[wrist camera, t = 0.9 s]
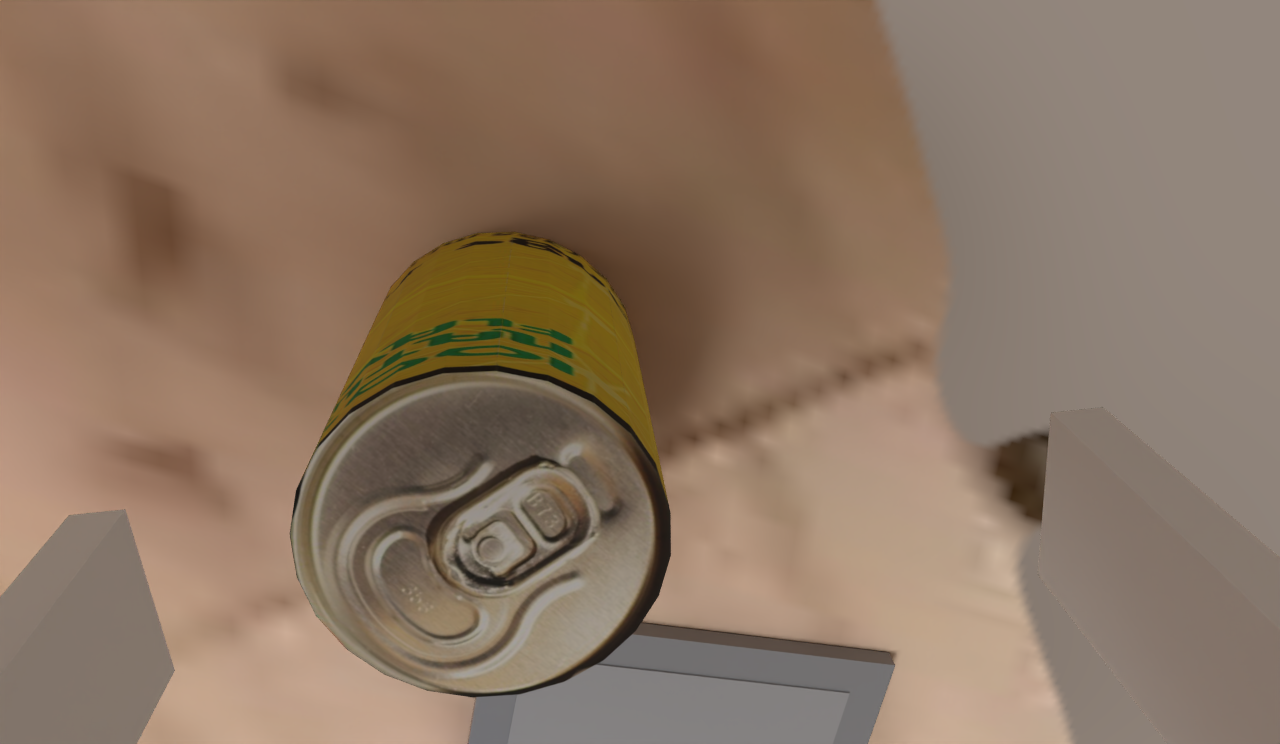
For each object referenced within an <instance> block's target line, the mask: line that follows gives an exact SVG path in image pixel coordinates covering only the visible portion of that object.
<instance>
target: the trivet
mask: <svg viewBox="0 0 1280 744" xmlns="http://www.w3.org/2000/svg"><path fill="white" fill-rule="evenodd" d="M894 667H895V664H894V662H893V660H892V658H891V655H890V653H888V652H880V651H871V650H863V649H855V648H846V647H838V646H830V645H821V644H813V643H805V642H796V641H788V640H780V639H771V638H763V637H754V636H746V635H738V634H729V633H721V632H713V631H704V630H696V629H688V628H679V627H671V626H663V625H654V624H646V623H641V624H640V625H639V627H638V628H637V630H636V631H635V632H634V633H633V634H632V635H631V636H630V637H629V638H628V639H627V640H625V641H624V642H623V643H622V644H621V645H620V646H619V647H618V648H617V649H616V650H614V651H613V652H612V653H611V654H610V655H609V656H608V657H607V658H606V659H605V660H603V661H602V662H600V663H598V664H596V665H594V666H592V667H591V668H589V669H587V670H585V671H583V672H581V673H580V674H578V675H576V676H574V677H572V678H570V679H569V680H567V681H565V682H562V683H558V684H555V685H551V686H548V687H544V688H541V689H537V690H534V691H530V692H527V693H523V694H518V695H503V696H487V697H475V703H474V709H473V715H472V720H471V726H470V732H469V738H468V743H467V744H868V742H869V739H870V736H871V733H872V730H873V727H874V724H875V722H876V719H877V716H878V713H879V710H880V707H881V704H882V702H883V699H884V696H885V693H886V690H887V687H888V684H889V682H890V679H891V676H892V673H893V670H894Z"/></svg>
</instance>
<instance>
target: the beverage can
mask: <svg viewBox="0 0 1280 744" xmlns="http://www.w3.org/2000/svg"><path fill="white" fill-rule="evenodd" d="M290 539H291V545H292V551H293V557H294V563H295V569H296V575H297V578H298V580H299V582H300V584H301V586H302V588H303V590H304V592H305V594H306V596H307V598H308V600H309V602H310V604H311V606H312V608H313V610H314V612H315V614H316V616H317V617H318V618H319V619H320V621H321V622H322V623H323V624H324V625H325V626H326V627H327V628H328V629H329V631H330V632H331V633H332V634H333V635H334V636H335V637H336V638H337V639H338V641H339V642H340V643H341V644H342V645H343V646H344V647H345V648H346V649H347V650H348V651H350V652H351V653H353V654H354V655H356V656H357V657H359V658H360V659H362V660H363V661H365V662H366V663H368V664H369V665H371V666H372V667H374V668H375V669H377V670H378V671H380V672H381V673H383V674H385V675H387V676H390V677H393V678H395V679H398V680H401V681H403V682H406V683H409V684H411V685H414V686H417V687H419V688H422V689H424V690H427V691H433V692H440V693H447V694H454V695H461V696H468V697H487V696H503V695H518V694H523V693H527V692H530V691H534V690H537V689H541V688H544V687H548V686H551V685H555V684H558V683H562V682H565V681H567V680H569V679H570V678H572V677H574V676H576V675H578V674H580V673H581V672H583V671H585V670H587V669H589V668H591V667H592V666H594V665H596V664H598V663H600V662H602V661H603V660H605V659H606V658H607V657H608V656H609V655H610V654H611V653H612V652H613V651H614V650H616V649H617V648H618V647H619V646H620V645H621V644H622V643H623V642H624V641H625V640H627V639H628V638H629V637H630V636H631V635H632V634H633V633H634V632H635V631H636V630H637V628H638V627H639V625H640V624H641V622H642V621H643V619H644V618H645V616H646V614H647V613H648V611H649V610H650V608H651V607H652V605H653V604H654V602H655V601H656V599H657V597H658V596H659V593H660V589H661V586H662V583H663V579H664V576H665V573H666V569H667V566H668V563H669V560H670V556H671V525H670V509H669V504H668V499H667V495H666V490H665V485H664V480H663V475H662V471H661V466H660V461H659V456H658V451H657V447H656V442H655V437H654V432H653V428H652V423H651V418H650V413H649V408H648V404H647V399H646V394H645V389H644V384H643V380H642V375H641V370H640V365H639V360H638V356H637V351H636V346H635V341H634V337H633V334H632V330H631V327H630V324H629V321H628V317H627V314H626V311H625V308H624V306H623V304H622V302H621V301H620V299H619V298H618V296H617V295H616V293H615V292H614V290H613V289H612V287H611V285H610V284H609V282H608V281H607V279H606V278H605V277H604V276H603V275H601V274H600V273H599V272H598V271H597V270H596V269H595V268H594V267H593V266H591V265H590V264H589V263H588V262H587V261H586V260H585V259H584V258H582V257H581V256H580V255H578V254H576V253H574V252H572V251H570V250H568V249H566V248H564V247H562V246H560V245H558V244H557V243H555V242H553V241H551V240H548V239H544V238H539V237H535V236H530V235H526V234H521V233H517V232H496V233H477V234H473V235H470V236H467V237H463V238H460V239H457V240H453V241H450V242H447V243H443V244H442V245H440V246H439V247H437V248H435V249H434V250H432V251H431V252H429V253H427V254H426V255H424V256H423V257H421V258H419V259H418V260H416V261H414V262H413V263H412V264H411V266H410V267H409V268H408V269H407V270H406V271H405V272H404V273H403V274H402V275H401V277H400V278H399V279H398V280H397V281H396V282H395V283H394V284H393V285H392V286H391V288H390V290H389V292H388V294H387V296H386V298H385V300H384V302H383V304H382V306H381V308H380V310H379V313H378V315H377V317H376V319H375V321H374V323H373V325H372V327H371V330H370V332H369V334H368V336H367V338H366V340H365V343H364V345H363V347H362V349H361V351H360V353H359V356H358V358H357V360H356V362H355V364H354V366H353V369H352V371H351V373H350V375H349V377H348V379H347V382H346V384H345V386H344V388H343V390H342V392H341V395H340V397H339V399H338V401H337V403H336V405H335V407H334V410H333V412H332V414H331V416H330V418H329V420H328V423H327V425H326V427H325V429H324V431H323V433H322V436H321V438H320V440H319V442H318V444H317V446H316V449H315V451H314V453H313V455H312V457H311V459H310V462H309V464H308V466H307V468H306V470H305V472H304V475H303V477H302V479H301V481H300V483H299V485H298V488H297V490H296V495H295V501H294V508H293V515H292V522H291V529H290Z"/></svg>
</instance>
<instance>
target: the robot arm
mask: <svg viewBox="0 0 1280 744" xmlns="http://www.w3.org/2000/svg"><path fill="white" fill-rule="evenodd" d="M1038 576H1039V577H1040V578H1041V579H1042V581H1043V582H1044V584H1045V585H1046V586H1047V587H1048V589H1049V590H1050V591H1051V593H1052V594H1053V595H1054V597H1055V598H1056V599H1057V601H1058V602H1059V603H1060V604H1061V606H1062V607H1063V608H1064V610H1065V611H1066V612H1067V614H1068V615H1069V616H1070V618H1071V619H1072V620H1073V621H1074V623H1075V624H1076V625H1077V627H1078V628H1079V629H1080V631H1081V632H1082V633H1083V634H1084V636H1085V637H1086V638H1087V640H1088V641H1089V642H1090V643H1091V645H1092V646H1093V648H1094V649H1095V650H1096V651H1097V653H1098V654H1099V655H1100V657H1101V658H1102V659H1103V661H1104V662H1105V663H1106V665H1107V666H1108V667H1109V668H1110V670H1111V671H1112V672H1113V674H1114V675H1115V676H1116V677H1117V679H1118V680H1119V681H1120V683H1121V684H1122V685H1123V687H1124V688H1125V689H1126V691H1127V692H1128V693H1129V695H1130V696H1131V697H1132V698H1133V700H1134V701H1135V702H1136V704H1137V705H1138V706H1139V708H1140V709H1141V710H1142V712H1143V713H1144V714H1145V715H1146V717H1147V718H1148V719H1149V721H1150V722H1151V723H1152V724H1153V726H1154V727H1155V728H1156V730H1157V731H1158V733H1159V734H1160V735H1161V736H1162V738H1163V739H1164V740H1165V742H1166V743H1167V744H1280V557H1279V556H1278V555H1277V554H1275V553H1274V552H1273V551H1272V550H1271V549H1269V548H1268V547H1267V546H1266V545H1265V544H1264V543H1263V542H1261V541H1260V540H1259V539H1258V538H1257V537H1256V536H1254V535H1253V534H1252V533H1251V532H1250V531H1248V530H1247V529H1246V528H1245V527H1244V526H1242V525H1241V524H1240V523H1239V522H1238V521H1236V520H1235V519H1234V518H1233V517H1232V516H1230V515H1229V514H1228V513H1227V512H1226V511H1225V510H1223V509H1222V508H1221V507H1220V506H1219V505H1218V504H1217V503H1215V502H1214V501H1213V500H1212V499H1211V498H1210V497H1208V496H1207V495H1206V494H1205V493H1203V492H1202V491H1201V490H1200V489H1199V488H1198V487H1197V486H1195V485H1194V484H1193V483H1192V482H1191V481H1189V480H1188V479H1187V478H1186V477H1185V476H1183V475H1182V474H1181V473H1180V472H1179V471H1178V470H1176V469H1175V468H1174V467H1173V466H1172V465H1171V464H1169V463H1168V462H1167V461H1166V460H1165V459H1163V458H1162V457H1161V456H1160V455H1159V454H1157V453H1156V452H1155V451H1154V450H1153V449H1152V448H1150V447H1149V446H1148V445H1147V444H1146V443H1144V442H1143V441H1142V440H1141V439H1140V438H1139V437H1138V436H1136V435H1135V434H1134V433H1133V432H1132V431H1130V430H1129V429H1128V428H1127V427H1126V426H1125V425H1123V424H1122V423H1121V422H1120V421H1119V420H1117V419H1116V418H1115V417H1114V416H1113V415H1111V414H1110V413H1109V412H1108V411H1107V410H1105V409H1104V408H1103V407H1100V408H1091V409H1080V410H1071V411H1061V412H1052V413H1051V419H1050V430H1049V442H1048V454H1047V466H1046V479H1045V491H1044V503H1043V515H1042V527H1041V539H1040V552H1039V564H1038ZM174 671H175V670H174V667H173V663H172V660H171V657H170V654H169V650H168V647H167V644H166V641H165V637H164V634H163V631H162V628H161V624H160V621H159V618H158V615H157V611H156V608H155V605H154V602H153V598H152V595H151V592H150V589H149V585H148V582H147V579H146V575H145V572H144V569H143V566H142V562H141V559H140V556H139V553H138V549H137V546H136V543H135V540H134V536H133V533H132V530H131V527H130V523H129V520H128V517H127V514H126V510H125V509H124V510H115V511H105V512H96V513H86V514H77V515H69V516H68V517H67V518H66V519H65V521H64V522H63V523H62V524H61V525H60V527H59V528H58V529H57V530H56V531H55V533H54V534H53V535H52V536H51V537H50V538H49V540H48V541H47V542H46V543H45V544H44V546H43V547H42V548H41V549H40V550H39V552H38V553H37V554H36V555H35V556H34V557H33V559H32V560H31V561H30V562H29V563H28V565H27V566H26V567H25V568H24V569H23V571H22V572H21V573H20V574H19V575H18V577H17V578H16V579H15V580H14V581H13V582H12V584H11V585H10V586H9V587H8V588H7V590H6V591H5V592H4V593H3V594H2V596H1V597H0V744H137V742H138V740H139V738H140V736H141V734H142V732H143V731H144V729H145V727H146V725H147V723H148V721H149V719H150V717H151V715H152V713H153V711H154V709H155V707H156V705H157V703H158V702H159V700H160V698H161V696H162V694H163V692H164V690H165V688H166V686H167V684H168V682H169V680H170V678H171V676H172V675H173V673H174Z"/></svg>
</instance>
